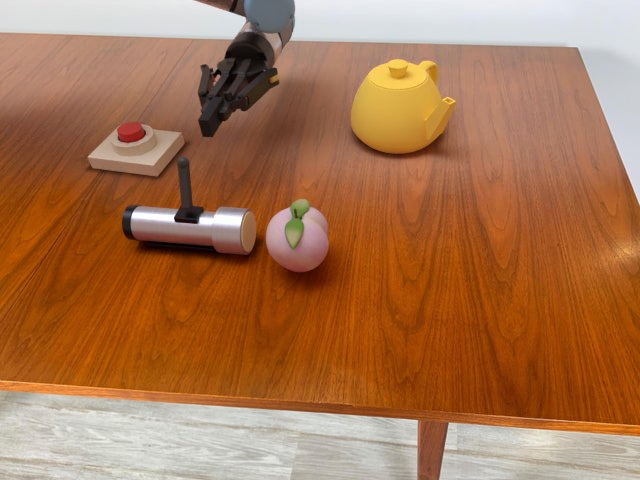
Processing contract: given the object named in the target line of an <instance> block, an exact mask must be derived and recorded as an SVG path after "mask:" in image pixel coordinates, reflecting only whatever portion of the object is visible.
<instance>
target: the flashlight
mask: <svg viewBox="0 0 640 480" xmlns="http://www.w3.org/2000/svg"><path fill="white" fill-rule="evenodd" d="M121 229H122V233H123V235H124V236H125V238H126V239H127V240H129V241H146V242H147V241H148V242H147V246H148V248H149V249H161V250H171V251H172V250H173V251H182V252H196V253H207V254H216V252H217V253H218V254H219V253H220V254H221V253H222V254H231V255H243V256H248V255H250V254H251V252H252V251H253V248H254V246H255V243H256V238H257V219H256V215H255V213H254V211H253V210H252V209H251V208H248V207H246V208H244V207H233V206H232V207H231V206H219V207H218V208H217V209H216V210H215V211H208V210H205V209H204V206H198V205H193V207H191V208H182V207H181V205H180V206H179V208H170V207H160V206H159V207H157V206H145V205H141V204H129V205H128V206H126V207H125V209H124V211H123V213H122V216H121Z"/></svg>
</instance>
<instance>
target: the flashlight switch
mask: <svg viewBox="0 0 640 480" xmlns="http://www.w3.org/2000/svg"><path fill="white" fill-rule="evenodd" d="M190 164H191V161H190V160H189V158H187V156H180V157H178V159H177V160H176V165H177V172H178V183H179V195H180V206H181V207H182V208H191V207H193V206H194V205H193V204H194V203H193V193H192V192H193V191H192V179H191V168H190V167H191V166H190Z"/></svg>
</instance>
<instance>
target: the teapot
mask: <svg viewBox="0 0 640 480" xmlns="http://www.w3.org/2000/svg"><path fill="white" fill-rule="evenodd" d="M438 79H439V66H438V65H437V64H436V63H435V62H434V61H432V60H423V61H421V62H420V63H419V64H415V63H412V62H409V61H407V60H404V59H401V58H396V59H395V58H394V59H391V60H389V61H388V62H385V63H381V64H379V65H377V66H375V67H373V69H371V70H370V71H369V72H368V74H367V75H366V76H365V78H364V79H363V80H362V82H361V84H360V86H359V88H358V89H357V91H356V93H355V95H354V98H353V101H352V105H351V109H350V127H351V129H352V132H353V133H354V135H355V136H356V137H357V138H358V139H359V140H360V141H361V142H363V143H364V144H365V145H367V146H368V147H369V148H371V149H373V150H375V151H378V152H382V153H387V154H396V155H397V154H399V155H400V154H410V153H415V152H417V151H420V150H423V149H424V148H426V147H428V146H429V145H431V144H432V143H433V142H434V141H435V140H437V138H438V137H440V135H441V134H443V133H444V131H445V129H446V127H447V125H448V123H449V120H450V118H451V116H452V113H453V111H454V109H455V106H456V105H457V101H456V100H455V99H453V98H451V97H449V96H446V97H444V98H443V97H442V94H441V92H440V90H439V88H438V86H437V85H438Z"/></svg>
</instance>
